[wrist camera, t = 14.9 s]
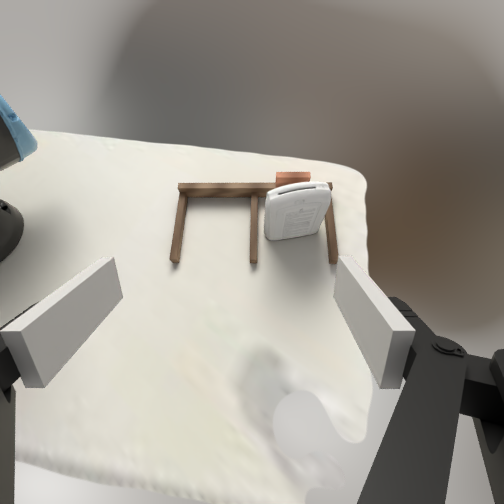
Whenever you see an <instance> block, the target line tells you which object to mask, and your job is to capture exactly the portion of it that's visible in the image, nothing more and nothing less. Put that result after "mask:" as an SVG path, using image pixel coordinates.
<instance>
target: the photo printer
mask: <svg viewBox="0 0 504 504" xmlns="http://www.w3.org/2000/svg"><path fill="white" fill-rule="evenodd" d="M330 202H331V190H330V189H329V185H328V184H327V183H324V182H301V183H294V184H289V185H285V186H281V187H278V188H275V189H273V190H271V191H269V192H267V194H266V201H265V217H264V234H265V236H266V237H267V238H268V239H269V240H281V239H288V238H294V237H300V236H305V235H310V234H314V233H316V232H318V230H319V228H320V225H321V223H322V221H323V219H324V216H325V214H326V212H327V210H328V207H329V205H330Z"/></svg>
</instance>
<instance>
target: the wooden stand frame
mask: <svg viewBox="0 0 504 504" xmlns="http://www.w3.org/2000/svg"><path fill="white" fill-rule="evenodd" d="M310 178H311V176H310V172H276V183H178V190H179V192H180V194H179V201H178V207H177V214H176V220H175V227H174V233H173V240H172V246H171V253H170V260H171V262H172V263H179V259H180V251H181V244H182V237H183V230H184V222H185V215H186V208H187V200H188V197H251V229H250V263H257V213H258V197H266V194H267V192H269V191H271V190H273V189H275V188H278V187H281V186H285V185H289V184H294V183H301V182H309V181H310ZM327 184H328V185H329V189H330V190H331V191H332V188H333V186H332V183H327ZM325 225H326V234H327V244H328V254H329V264H337V262H338V249H337V240H336V232H335V223H334V215H333V206H332V198H331V202H330V205H329V207H328V210H327V212H326V214H325Z"/></svg>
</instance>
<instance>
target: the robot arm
mask: <svg viewBox="0 0 504 504" xmlns="http://www.w3.org/2000/svg"><path fill="white" fill-rule="evenodd" d="M36 149H37V141H36V139H35V138H34V136H33V135H32V134H31V133H30V131H29V130H28V129H27V128H26V126H25V125H24V124H23V123H22V121H21V120H20V119H19V118H18V116H17V115H16V114H15V112H14V111H13V110H12V109H11V107H10V106H9V105H8V104H7V102H6V101H5V100H4V98H3V97H2V96H1V95H0V171H2V170H4V169H6V168H8V167H10V166H12V165H14V164H16V163H17V162H21V161H23V159H24V158H25V157H27V156H28V155H30V154H32V153H33V152H35V151H36ZM23 226H24V223H23V218H22V215H21V213H20V212H19V211H18V210H17V209H16V208H15V207H13V206H12V205H10V204H9V203H7V202H5V201H3V200H1V199H0V261H2V260H3V259H4V258H5V257H6V256H8V255H9V254H10V253H11V251H12V250H13V249H14V248H15V246H16V245H17V243H18V242H19V240H20V238H21V235H22V232H23ZM333 297H334V299H335V301H336V303H337V305H338V307H339V309H340V311H341V313H342V315H343V317H344V319H345V321H346V323H347V325H348V327H349V329H350V331H351V333H352V335H353V337H354V339H355V341H356V343H357V345H358V347H359V349H360V350H361V352H362V354H363V356H364V358H365V360H366V362H367V364H368V366H369V368H370V370H371V372H372V374H373V376H374V378H375V380H376V382H377V384H378V386H379V388H380V389H400V386H401V383H402V379H403V377H404V379H405V381H406V383H405V385H404V387H403V390H402V393H401V395H400V397H399V400H398V402H397V405H396V407H395V410H394V412H393V415H392V417H391V420H390V422H389V425H388V427H387V430H386V432H385V435H384V437H383V440H382V442H381V445H380V447H379V450H378V452H377V455H376V457H375V460H374V462H373V465H372V467H371V470H370V472H369V475H368V477H367V480H366V482H365V485H364V487H363V490H362V492H361V495H360V497H359V500H358V502H357V504H445V499H446V493H447V487H448V481H449V474H450V468H451V462H452V456H453V449H454V442H455V437H456V430H457V424H458V418H459V413H460V414H463V415H467V416H471V417H472V418H473V421H474V425H475V429H476V433H477V436H478V441H479V444H480V448H481V452H482V456H483V460H484V464H485V467H486V471H487V475H488V478H489V483H490V486H491V490H492V494H493V498H494V502H495V504H504V349H501V350H497V351H496V352H495V353H494V355H493V357H492V359H488V358H483V357H479V356H474V355H469V354H467V352H466V351H465V350H464V349H463V348H462V346H460V345H459V344H457V343H456V342H454V341H452V340H450V339H447V338H444V337H440V336H436V335H435V334H434V333H433V332H432V331H431V329H430V328H429V327H428V326H427V325H426V324H425V323H424V322H423V321H422V320H421V319H420V318H419V317H418V316H417V315H416V313H414V312H413V311H412V309H411V308H410V307H409V306H408V305H407V304H406V303H405V302H403V301H401V300H400V299H398V298H396V297H387V296H386V295H385V294H384V293H383V292H382V291H381V289H380V288H379V287H378V286H377V285H376V284H375V283H374V281H373V280H372V279H371V278H370V277H369V275H368V274H367V273H366V272H365V271H364V270H363V268H362V267H361V266H360V265H359V264H358V263H357V261H356V260H355V259H354V258H353V257H352V256H338V262H337V270H336V279H335V287H334V295H333ZM122 298H123V295H122V291H121V286H120V282H119V278H118V273H117V269H116V265H115V260H114V257H101V258H99V259H98V260H96V261H95V262H94V263H92V264H91V265H90V266H88V267H87V268H85V269H84V270H83V271H81V272H80V273H79V274H77V275H76V276H75V277H73V278H72V279H70V280H69V281H68V282H66V283H65V284H64V285H62V286H61V287H59V288H58V289H57V290H55V291H54V292H53V293H51V294H50V295H48V296H47V297H46V298H44V299H43V300H42V301H40V302H38V303H36V304H34V305H32V306H30V307H29V308H28V309H26V310H25V311H23V313H21V314H19V315H18V316H16V317H15V319H12V320H11V321H9V322H8V323H7V324H5V325H4V326H3V327H1V328H0V504H14V475H15V473H14V472H15V397H16V391H15V389H14V387H13V385H12V384H13V383H14V382H15V381H16V380H17V379H18V378H19V377H21V379H22V381H23V383H24V385H25V387H26V388H45V387H46V386H47V385H48V383H49V382H50V381H51V380H52V379H53V378H54V376H55V375H56V374H57V373H58V372H59V371H60V370H61V368H62V367H63V366H64V365H65V364H66V363H67V362H68V360H69V359H70V358H71V357H72V356H73V355H74V353H75V352H76V351H77V350H78V349H79V348H80V347H81V345H82V344H83V343H84V342H85V341H86V340H87V338H88V337H89V336H90V335H91V334H92V333H93V332H94V330H95V329H96V328H97V327H98V326H99V325H100V324H101V322H102V321H103V320H104V319H105V318H106V317H107V315H108V314H109V313H110V312H111V311H112V310H113V309H114V307H115V306H116V305H117V304H118V303H119V302H120V300H121V299H122Z"/></svg>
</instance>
